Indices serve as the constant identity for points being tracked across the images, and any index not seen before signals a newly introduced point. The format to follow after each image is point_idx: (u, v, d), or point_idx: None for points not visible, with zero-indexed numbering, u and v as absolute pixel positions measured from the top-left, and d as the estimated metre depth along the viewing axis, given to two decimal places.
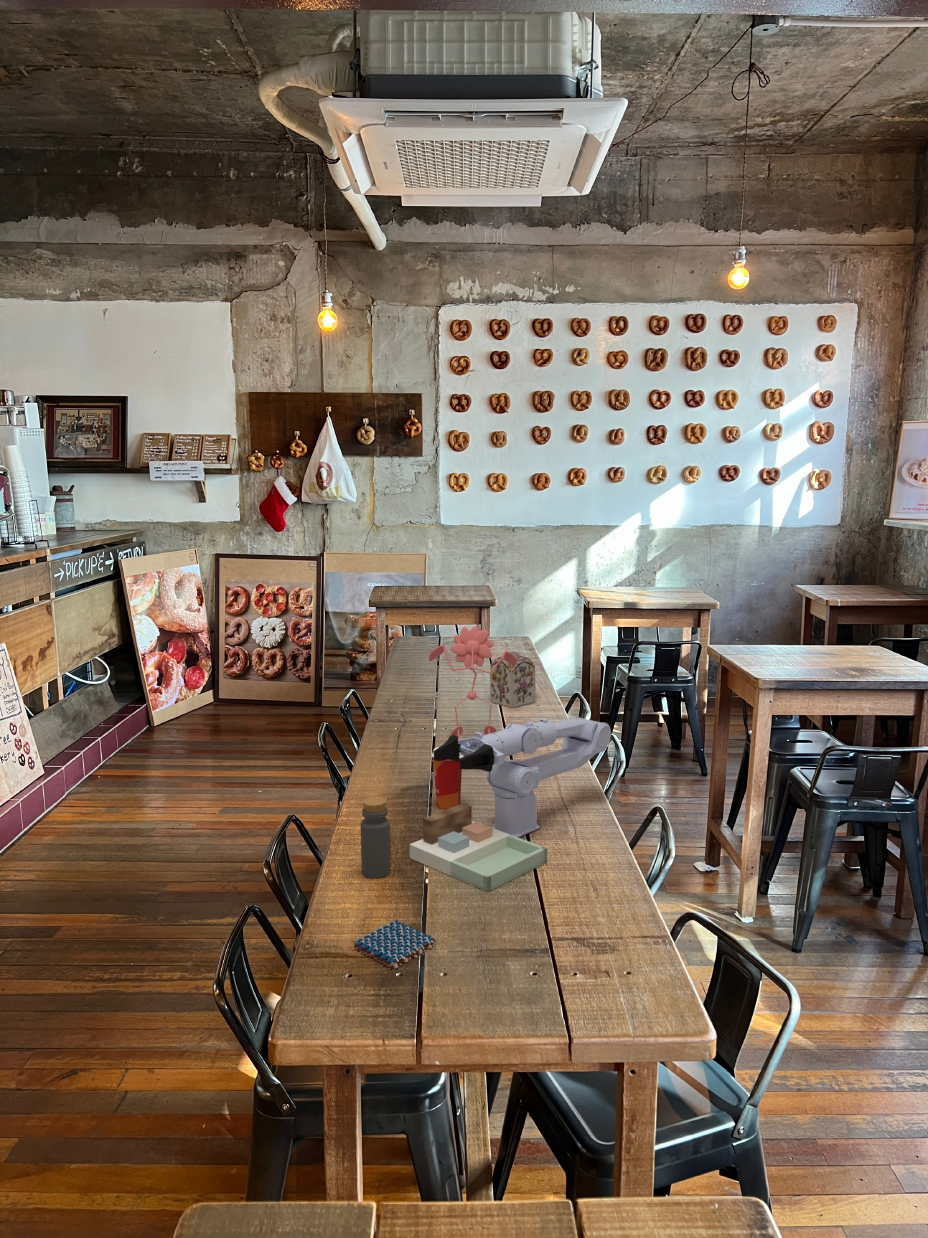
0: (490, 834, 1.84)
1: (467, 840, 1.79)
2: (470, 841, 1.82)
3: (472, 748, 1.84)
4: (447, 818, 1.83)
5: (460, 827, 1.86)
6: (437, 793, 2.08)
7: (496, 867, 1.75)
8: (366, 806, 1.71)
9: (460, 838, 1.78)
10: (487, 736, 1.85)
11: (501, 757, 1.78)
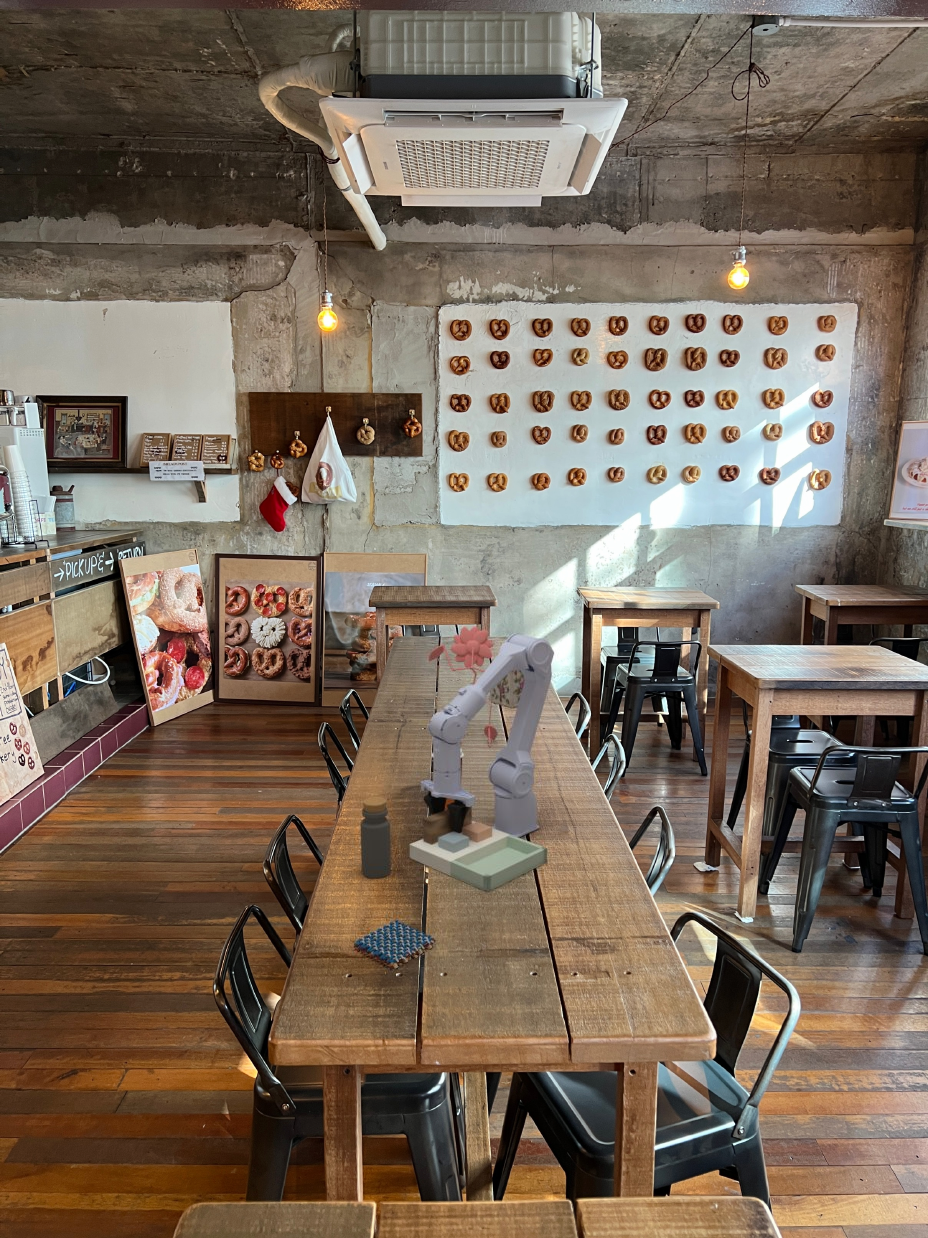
0: (490, 834, 1.84)
1: (467, 840, 1.79)
2: (470, 841, 1.82)
3: None
4: (447, 818, 1.83)
5: None
6: None
7: (496, 867, 1.75)
8: (366, 806, 1.71)
9: (459, 838, 1.78)
10: (439, 782, 1.81)
11: (470, 801, 1.78)
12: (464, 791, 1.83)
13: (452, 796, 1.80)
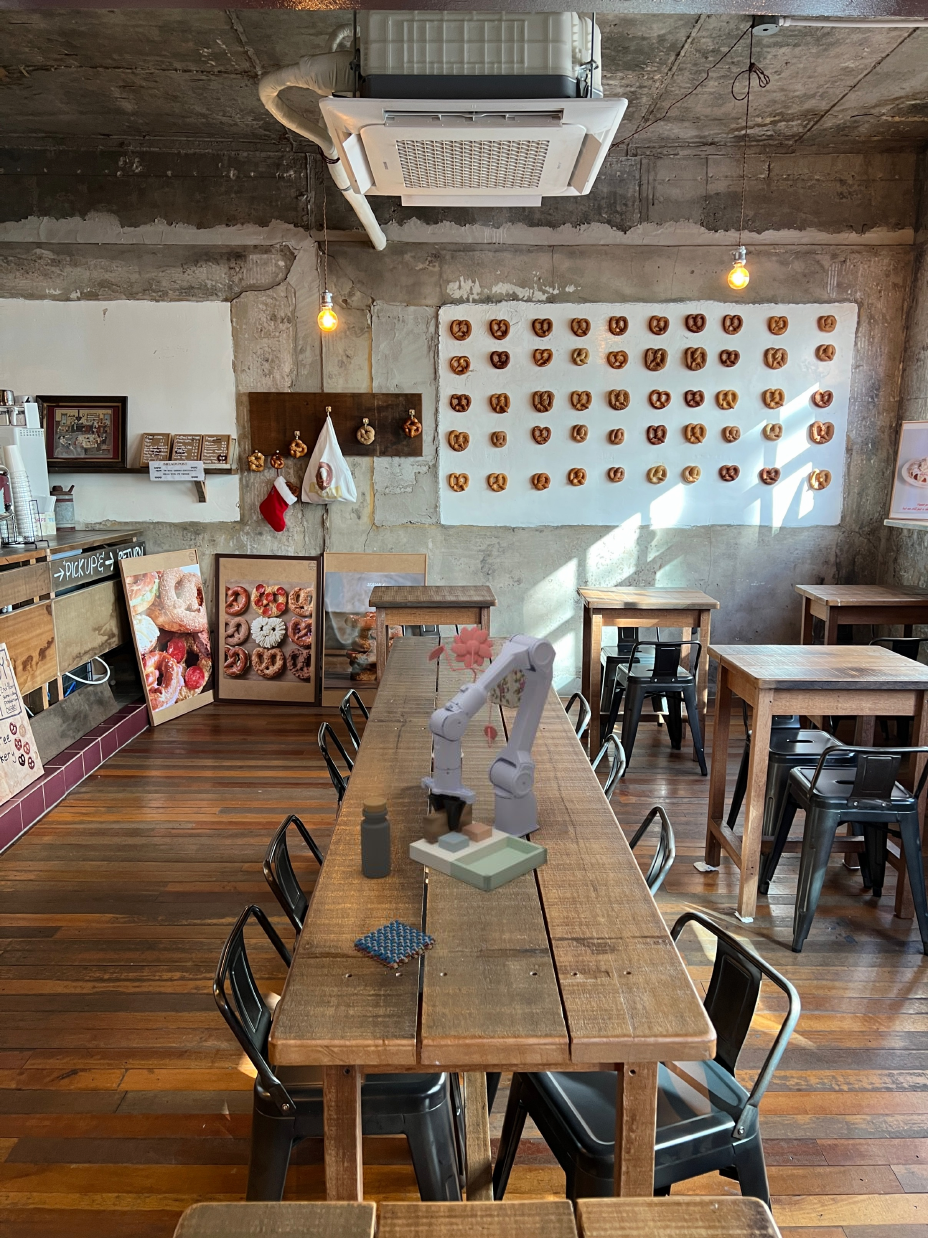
0: (490, 834, 1.84)
1: (467, 840, 1.79)
2: (470, 841, 1.82)
3: None
4: None
5: (461, 824, 1.86)
6: None
7: (496, 867, 1.75)
8: (366, 806, 1.71)
9: (459, 838, 1.78)
10: (439, 779, 1.81)
11: (471, 798, 1.78)
12: (465, 788, 1.82)
13: (453, 793, 1.80)
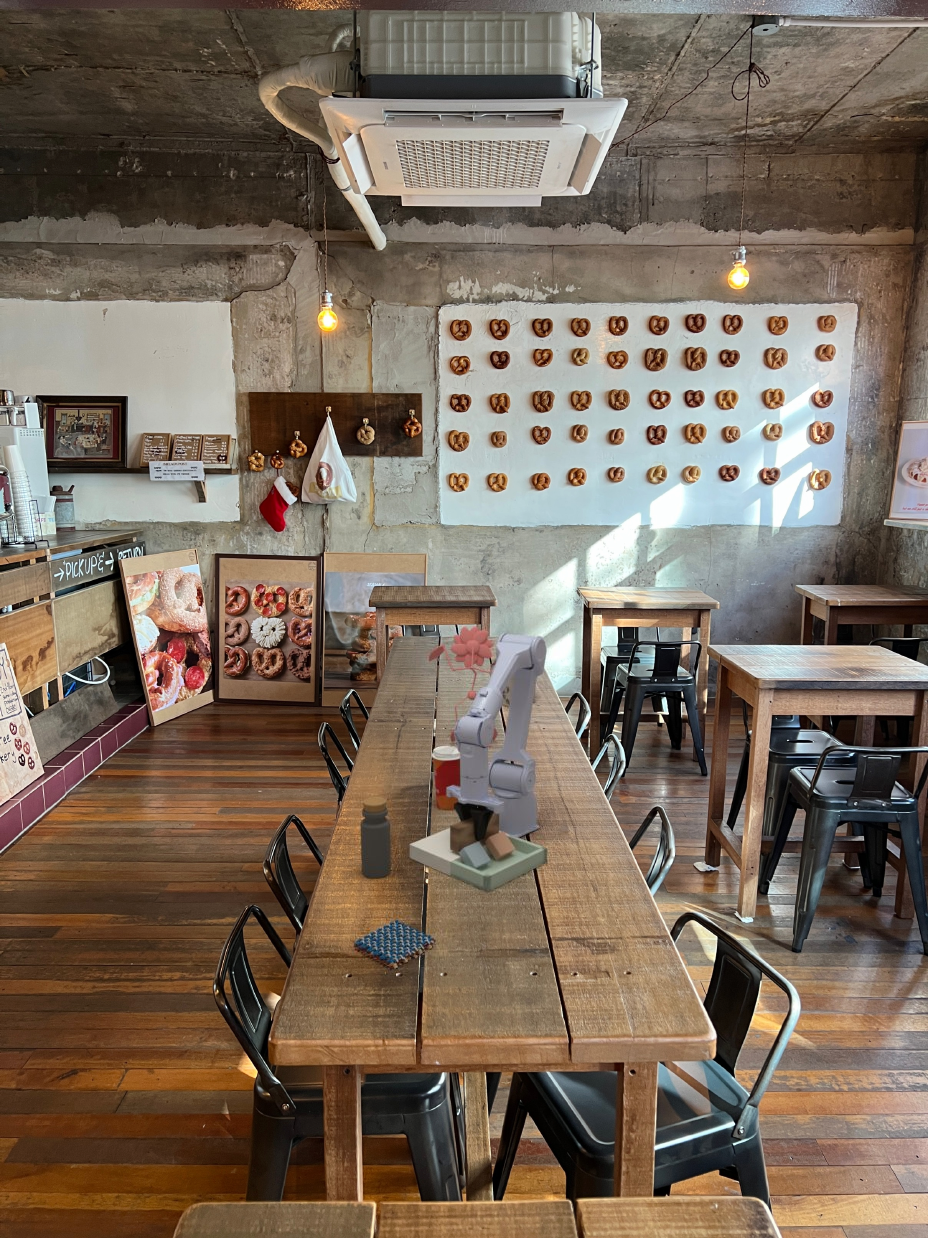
0: (510, 853, 1.80)
1: (487, 862, 1.75)
2: None
3: None
4: None
5: (488, 835, 1.81)
6: (437, 793, 2.08)
7: (496, 867, 1.75)
8: (366, 806, 1.71)
9: (482, 859, 1.74)
10: (466, 788, 1.76)
11: (499, 808, 1.73)
12: (492, 797, 1.77)
13: (480, 802, 1.74)
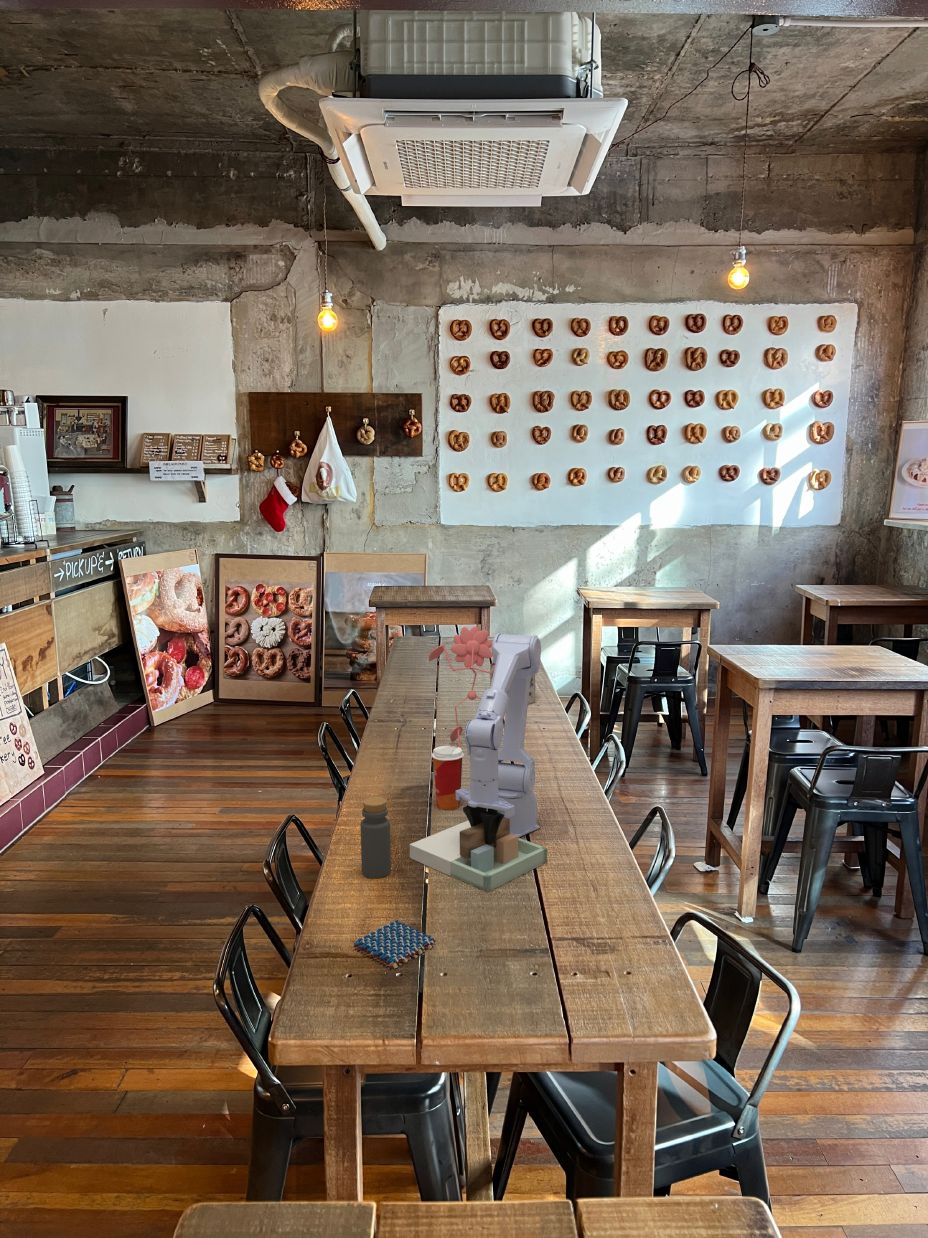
0: None
1: None
2: None
3: None
4: None
5: None
6: (437, 793, 2.08)
7: (496, 867, 1.75)
8: (366, 806, 1.71)
9: (487, 867, 1.73)
10: (476, 792, 1.74)
11: (509, 812, 1.71)
12: (502, 801, 1.75)
13: (490, 806, 1.72)
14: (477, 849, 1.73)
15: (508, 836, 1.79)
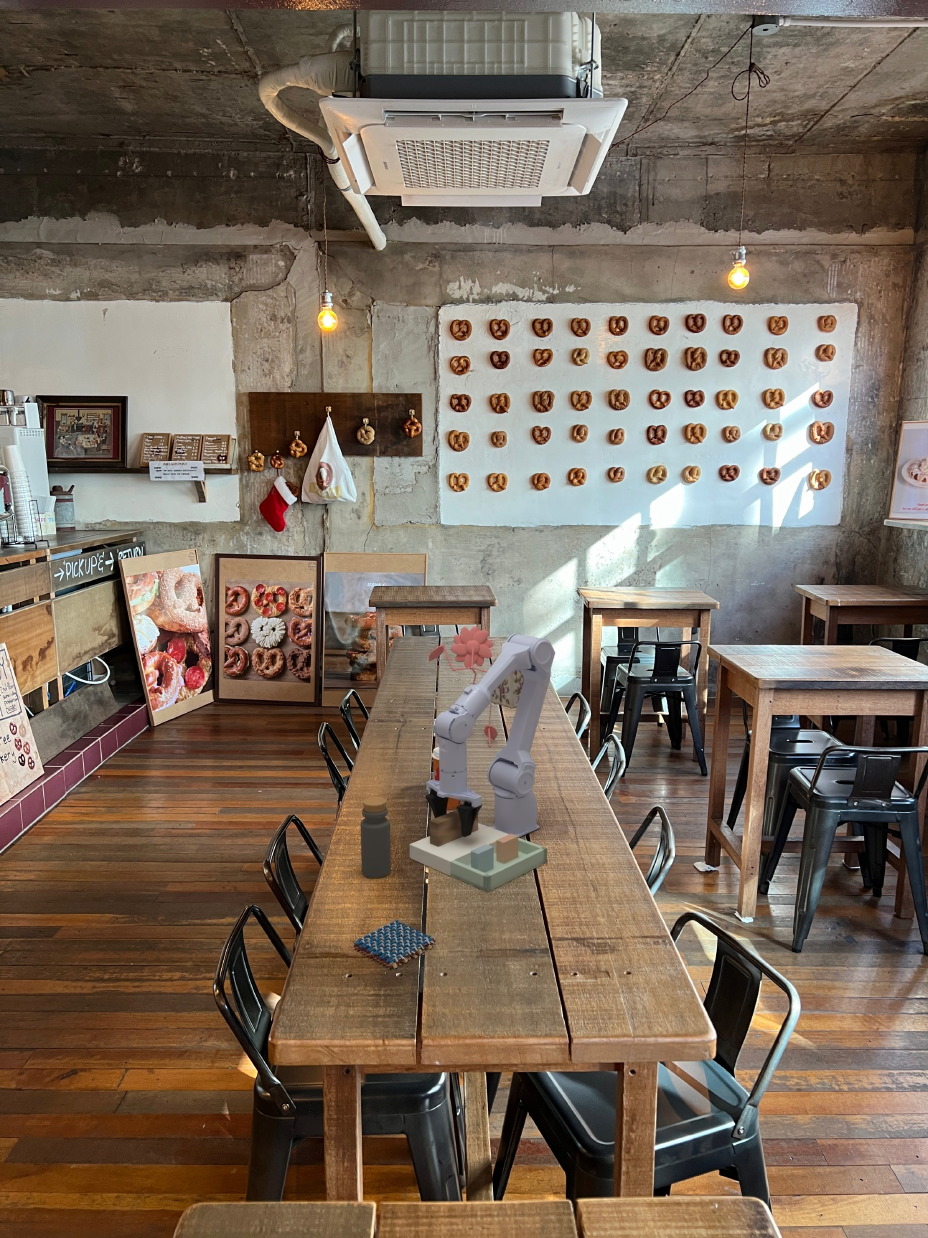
0: None
1: None
2: (470, 841, 1.82)
3: None
4: (454, 820, 1.82)
5: None
6: None
7: (496, 867, 1.75)
8: (366, 806, 1.71)
9: (487, 867, 1.73)
10: (444, 782, 1.80)
11: (476, 802, 1.77)
12: (470, 791, 1.81)
13: (458, 796, 1.79)
14: (477, 849, 1.73)
15: (508, 836, 1.79)
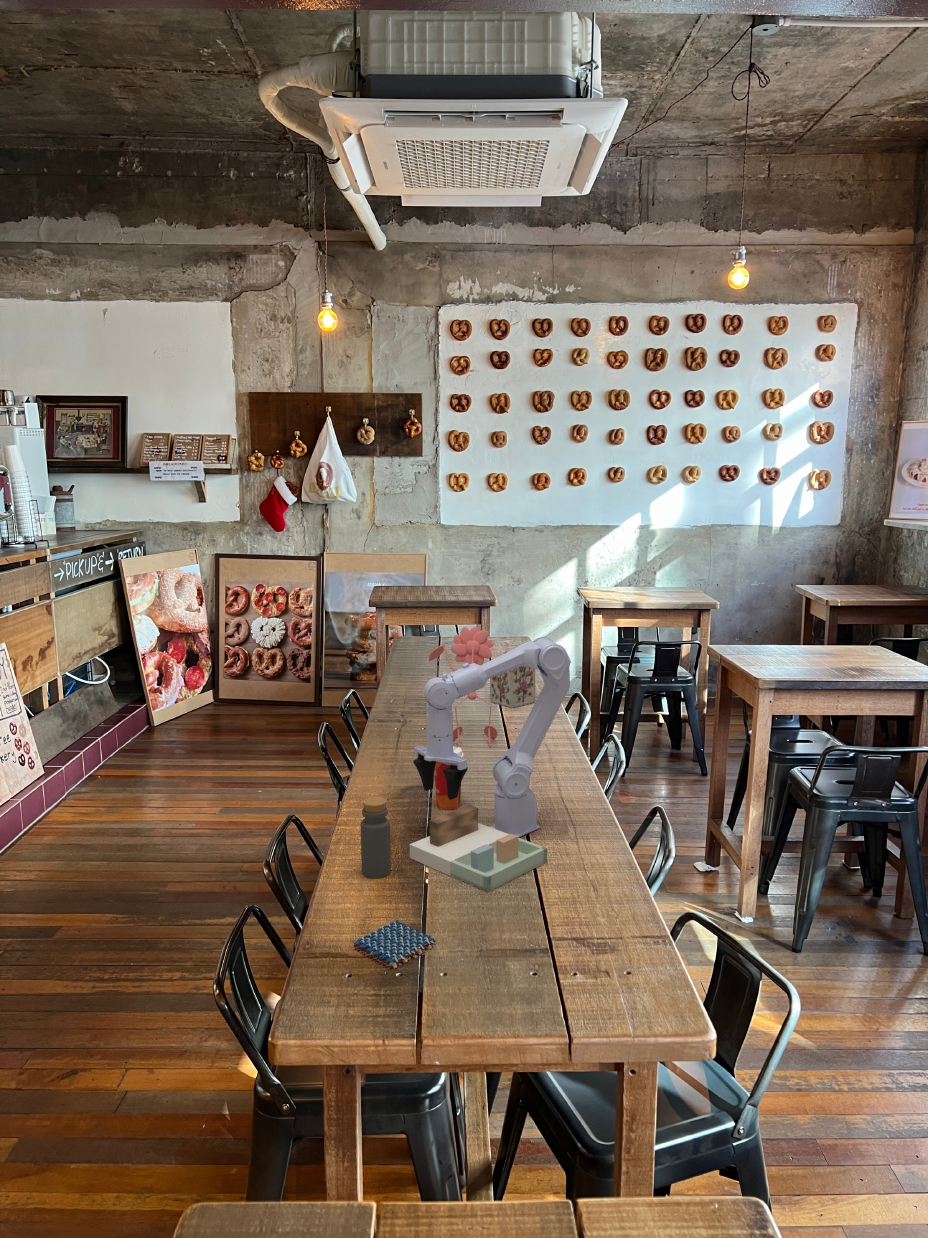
0: None
1: None
2: (470, 841, 1.82)
3: None
4: (454, 820, 1.82)
5: (467, 829, 1.85)
6: (437, 793, 2.08)
7: (496, 867, 1.75)
8: (366, 806, 1.71)
9: (487, 867, 1.73)
10: (431, 747, 1.86)
11: (462, 765, 1.83)
12: (456, 755, 1.87)
13: (444, 760, 1.85)
14: (477, 849, 1.73)
15: (508, 836, 1.79)
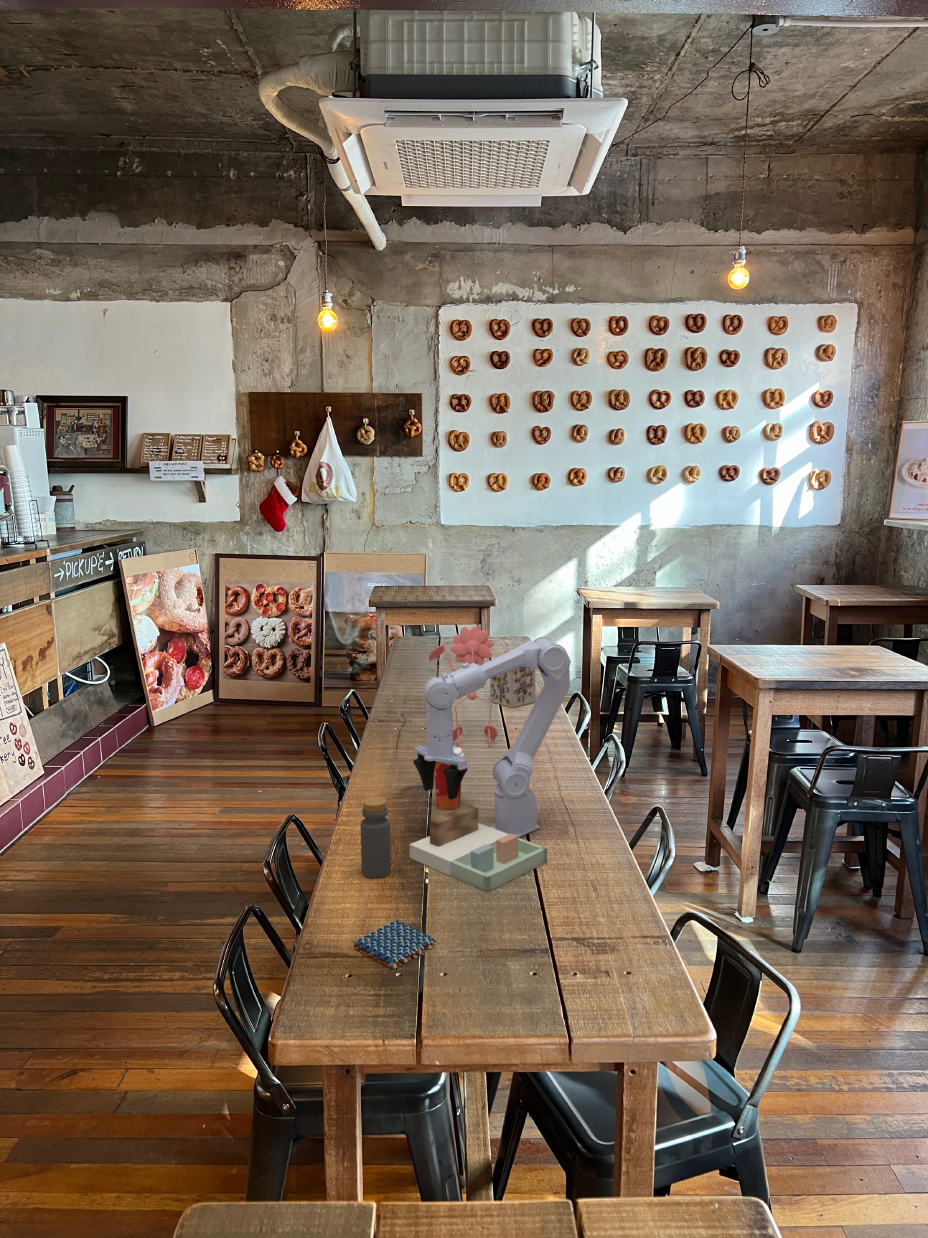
0: None
1: None
2: (470, 841, 1.82)
3: None
4: (454, 820, 1.82)
5: (467, 829, 1.85)
6: (437, 793, 2.08)
7: (496, 867, 1.75)
8: (366, 806, 1.71)
9: (487, 867, 1.73)
10: (431, 747, 1.86)
11: (462, 765, 1.83)
12: (456, 755, 1.87)
13: (444, 760, 1.85)
14: (477, 849, 1.73)
15: (508, 836, 1.79)
